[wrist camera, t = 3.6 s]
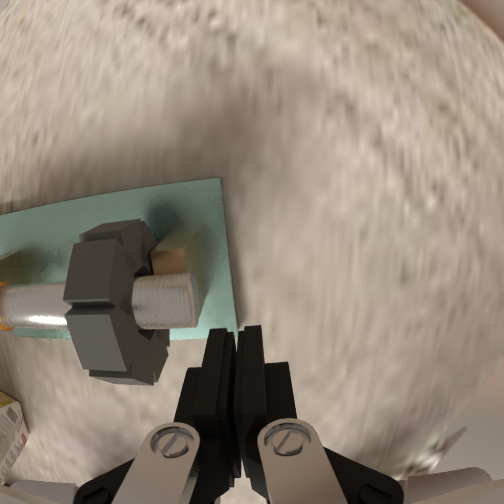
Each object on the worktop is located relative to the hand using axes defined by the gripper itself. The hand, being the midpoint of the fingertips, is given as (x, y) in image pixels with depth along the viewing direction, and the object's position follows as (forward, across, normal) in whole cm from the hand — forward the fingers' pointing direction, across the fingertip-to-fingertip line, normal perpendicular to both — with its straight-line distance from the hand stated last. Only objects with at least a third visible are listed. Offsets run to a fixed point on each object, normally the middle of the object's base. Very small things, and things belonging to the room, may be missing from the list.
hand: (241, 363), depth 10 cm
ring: (+11, +7, +1) cm, 13 cm away
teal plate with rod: (+14, +13, +1) cm, 19 cm away
